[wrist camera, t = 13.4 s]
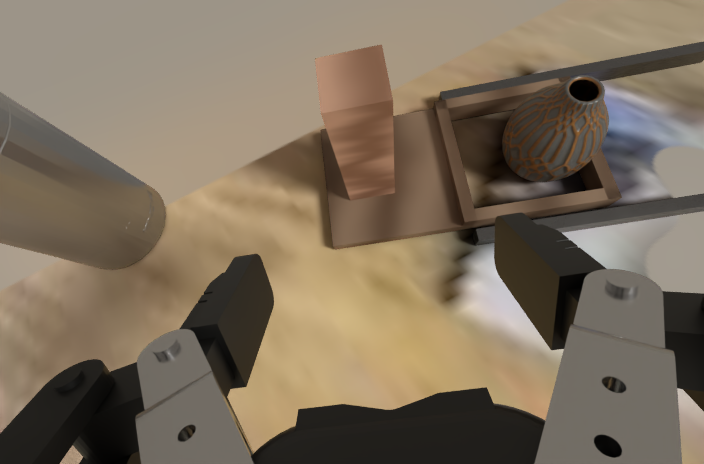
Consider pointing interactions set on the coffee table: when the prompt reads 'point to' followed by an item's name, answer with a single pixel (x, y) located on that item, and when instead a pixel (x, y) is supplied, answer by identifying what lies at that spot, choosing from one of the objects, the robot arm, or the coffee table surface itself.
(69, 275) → the coffee table surface
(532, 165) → the vase
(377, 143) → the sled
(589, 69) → the lane rails
